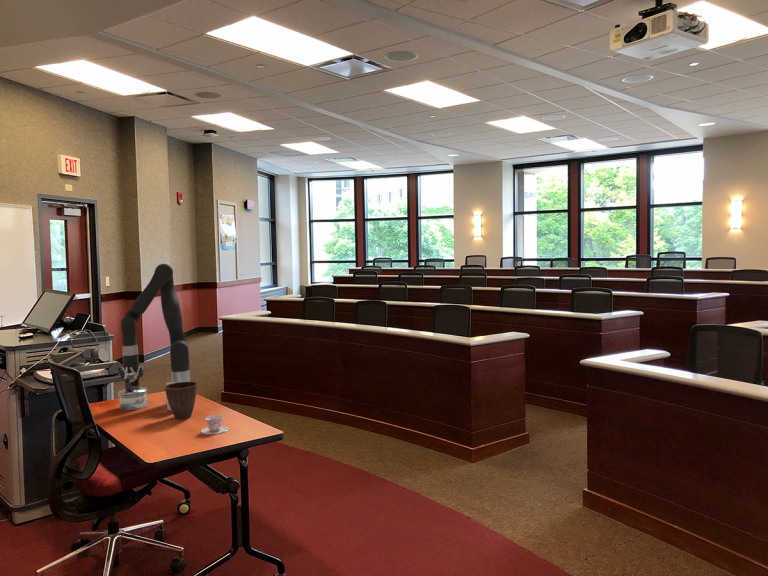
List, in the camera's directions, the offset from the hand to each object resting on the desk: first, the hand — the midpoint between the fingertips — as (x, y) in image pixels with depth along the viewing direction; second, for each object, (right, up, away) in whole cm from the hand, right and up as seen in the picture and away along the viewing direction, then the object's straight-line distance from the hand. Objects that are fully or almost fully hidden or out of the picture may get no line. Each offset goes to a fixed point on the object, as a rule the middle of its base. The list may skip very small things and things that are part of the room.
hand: (132, 385), depth 301 cm
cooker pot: (0, -12, +1) cm, 12 cm away
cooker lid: (0, -4, 0) cm, 4 cm away
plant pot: (+34, -12, -20) cm, 41 cm away
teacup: (+56, -13, -43) cm, 72 cm away
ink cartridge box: (+26, -12, -6) cm, 29 cm away
